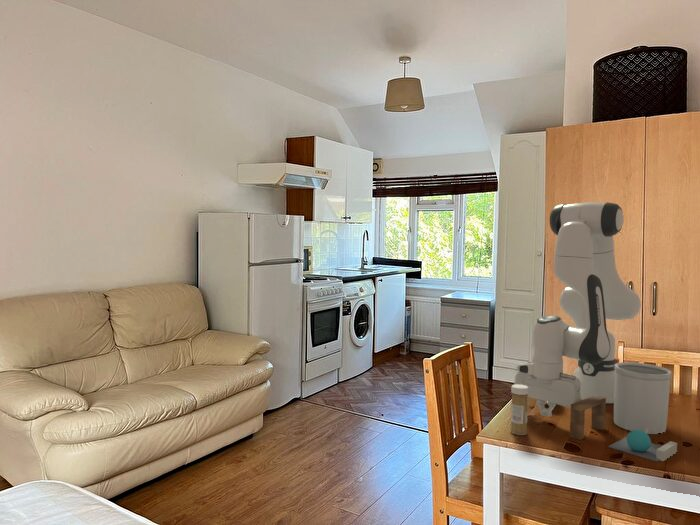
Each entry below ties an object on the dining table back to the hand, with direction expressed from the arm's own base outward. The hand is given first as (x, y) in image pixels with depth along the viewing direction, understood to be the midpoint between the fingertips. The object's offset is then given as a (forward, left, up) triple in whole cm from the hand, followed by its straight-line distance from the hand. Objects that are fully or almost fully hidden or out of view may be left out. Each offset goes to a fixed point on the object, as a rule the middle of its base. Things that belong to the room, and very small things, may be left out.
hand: (545, 415), depth 161 cm
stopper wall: (0, +34, -2) cm, 34 cm away
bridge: (0, +13, -2) cm, 13 cm away
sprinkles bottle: (+16, +1, -2) cm, 16 cm away
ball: (+3, +28, +1) cm, 28 cm away
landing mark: (0, +28, -2) cm, 28 cm away
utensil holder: (-18, +20, -2) cm, 27 cm away
